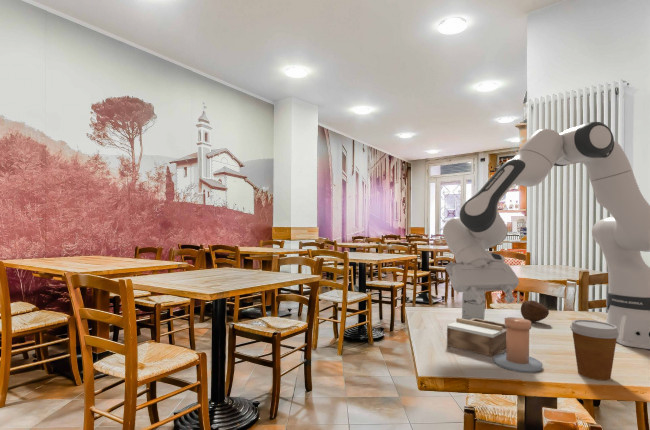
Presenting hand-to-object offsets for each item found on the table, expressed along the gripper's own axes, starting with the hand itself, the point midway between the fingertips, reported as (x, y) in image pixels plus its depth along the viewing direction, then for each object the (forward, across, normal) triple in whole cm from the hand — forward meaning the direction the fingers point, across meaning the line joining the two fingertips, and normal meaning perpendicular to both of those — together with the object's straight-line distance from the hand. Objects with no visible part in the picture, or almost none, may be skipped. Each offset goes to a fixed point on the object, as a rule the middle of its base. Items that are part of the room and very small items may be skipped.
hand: (496, 302), depth 104 cm
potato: (-9, +39, +29) cm, 49 cm away
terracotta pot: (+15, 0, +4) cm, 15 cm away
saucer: (+15, 0, +5) cm, 16 cm away
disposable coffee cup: (+23, +12, -2) cm, 26 cm away
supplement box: (-14, +18, +34) cm, 41 cm away
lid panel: (+2, -3, +10) cm, 11 cm away
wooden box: (+4, +2, +16) cm, 17 cm away
